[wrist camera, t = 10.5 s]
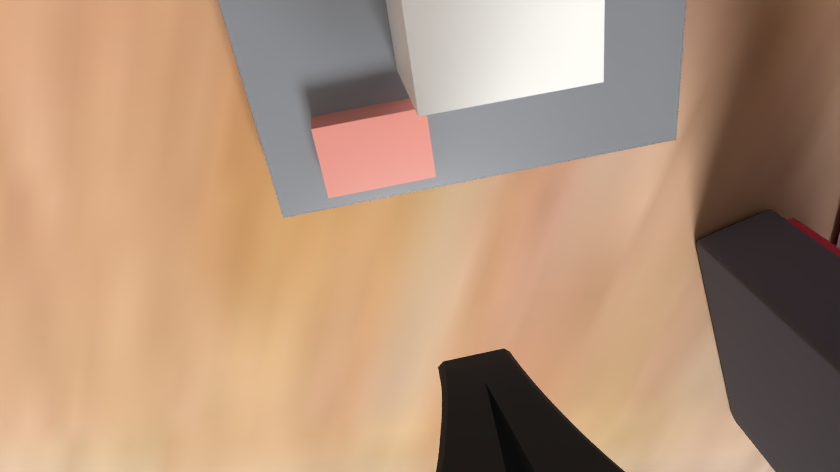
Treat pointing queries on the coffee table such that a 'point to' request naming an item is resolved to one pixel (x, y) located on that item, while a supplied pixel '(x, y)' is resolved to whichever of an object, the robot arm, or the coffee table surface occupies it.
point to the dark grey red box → (778, 336)
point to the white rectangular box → (494, 49)
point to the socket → (442, 132)
